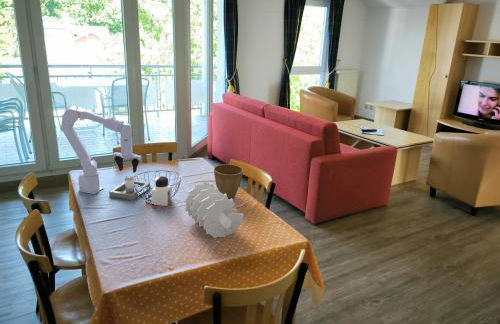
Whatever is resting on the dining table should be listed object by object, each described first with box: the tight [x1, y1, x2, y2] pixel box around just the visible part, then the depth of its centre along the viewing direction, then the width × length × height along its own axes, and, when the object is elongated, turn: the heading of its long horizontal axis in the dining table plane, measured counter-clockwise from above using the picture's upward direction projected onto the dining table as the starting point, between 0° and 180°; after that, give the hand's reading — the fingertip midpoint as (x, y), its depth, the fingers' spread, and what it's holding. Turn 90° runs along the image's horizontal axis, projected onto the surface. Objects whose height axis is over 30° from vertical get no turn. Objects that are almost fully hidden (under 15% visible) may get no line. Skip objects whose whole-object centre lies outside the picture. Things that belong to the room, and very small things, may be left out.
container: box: [150, 175, 172, 207], centre depth 185 cm, size 8×8×13 cm
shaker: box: [124, 175, 135, 193], centre depth 193 cm, size 4×4×8 cm
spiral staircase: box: [184, 181, 245, 239], centre depth 164 cm, size 18×18×25 cm
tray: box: [108, 179, 151, 202], centre depth 195 cm, size 13×17×3 cm
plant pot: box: [213, 163, 244, 200], centre depth 193 cm, size 15×15×16 cm
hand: (128, 171), depth 197 cm, fingers open, 7 cm apart
